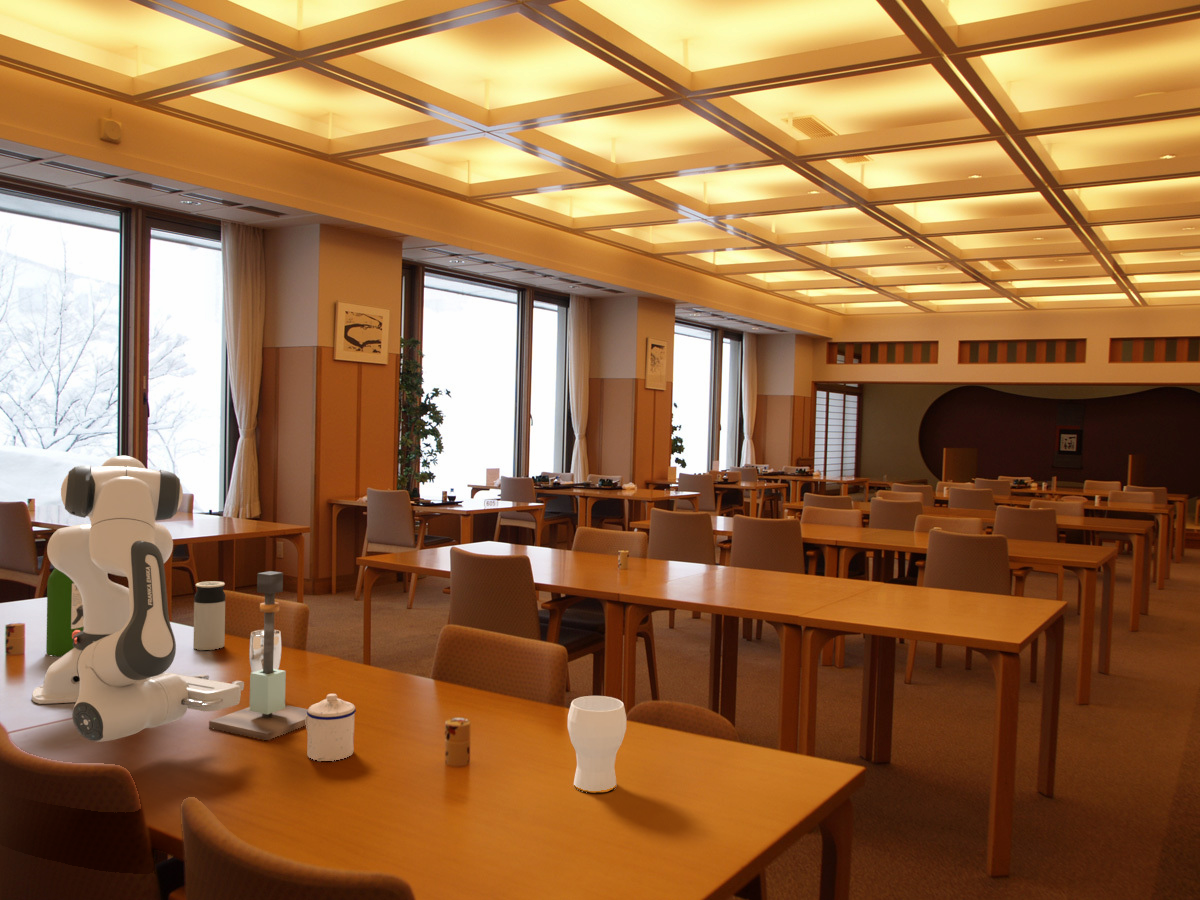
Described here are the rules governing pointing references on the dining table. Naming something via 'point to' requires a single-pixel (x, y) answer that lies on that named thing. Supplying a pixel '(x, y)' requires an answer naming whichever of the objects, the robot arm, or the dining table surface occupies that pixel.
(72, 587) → the wine bottle
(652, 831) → the dining table surface
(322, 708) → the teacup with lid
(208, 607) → the travel mug
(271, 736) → the post stand
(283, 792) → the dining table surface
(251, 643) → the beer glass
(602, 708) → the cup
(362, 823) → the dining table surface
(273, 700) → the marker sleeve
